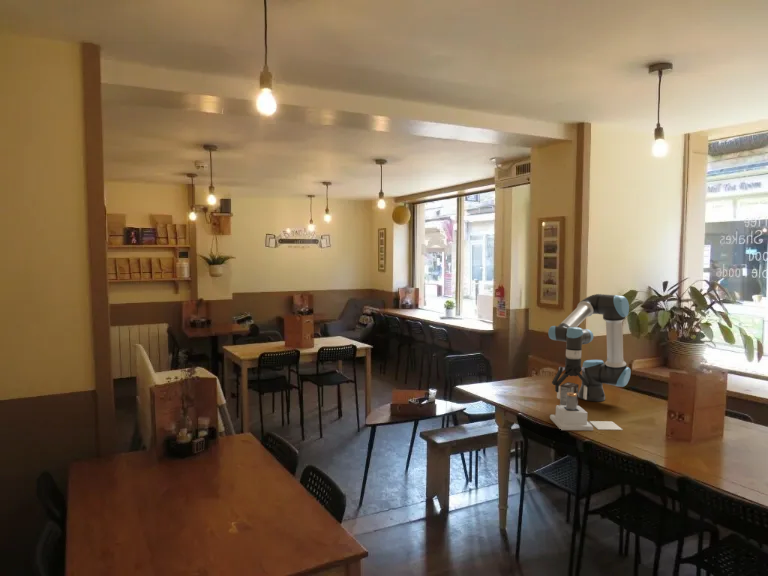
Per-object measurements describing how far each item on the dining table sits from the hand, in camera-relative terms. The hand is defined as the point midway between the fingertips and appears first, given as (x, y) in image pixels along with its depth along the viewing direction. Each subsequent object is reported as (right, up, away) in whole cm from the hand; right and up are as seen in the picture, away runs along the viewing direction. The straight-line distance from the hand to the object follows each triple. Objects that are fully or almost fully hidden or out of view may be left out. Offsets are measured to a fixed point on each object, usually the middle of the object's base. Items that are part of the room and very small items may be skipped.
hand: (571, 398), depth 269 cm
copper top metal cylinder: (0, -11, +1) cm, 11 cm away
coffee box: (+5, -12, +19) cm, 23 cm away
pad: (+17, -14, -1) cm, 22 cm away
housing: (0, -13, +1) cm, 13 cm away
